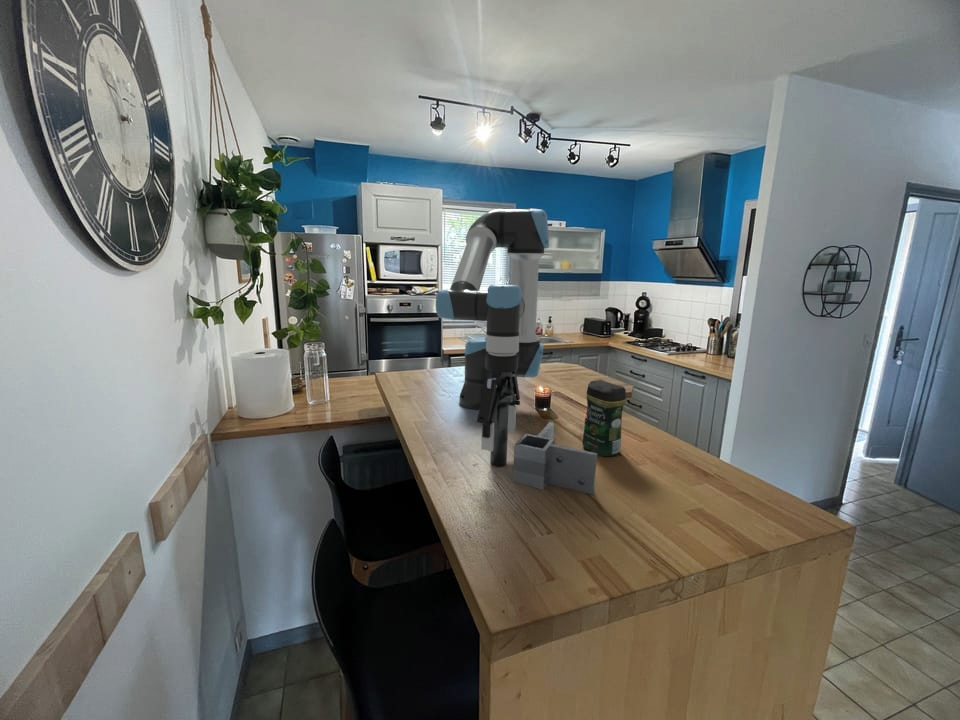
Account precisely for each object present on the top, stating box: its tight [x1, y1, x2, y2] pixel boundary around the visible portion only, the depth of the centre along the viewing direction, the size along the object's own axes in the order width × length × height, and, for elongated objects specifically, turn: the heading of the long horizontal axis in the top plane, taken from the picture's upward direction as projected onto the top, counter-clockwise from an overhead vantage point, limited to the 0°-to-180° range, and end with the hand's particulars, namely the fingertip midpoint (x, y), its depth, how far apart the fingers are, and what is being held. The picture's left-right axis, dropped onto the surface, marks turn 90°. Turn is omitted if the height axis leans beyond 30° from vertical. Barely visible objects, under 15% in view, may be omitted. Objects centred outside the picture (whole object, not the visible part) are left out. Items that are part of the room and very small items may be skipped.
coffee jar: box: [581, 379, 627, 457], centre depth 108 cm, size 10×8×19 cm
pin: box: [489, 393, 513, 468], centre depth 99 cm, size 6×6×17 cm
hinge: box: [512, 421, 598, 496], centre depth 95 cm, size 17×17×9 cm
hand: (499, 439), depth 100 cm, fingers open, 13 cm apart
